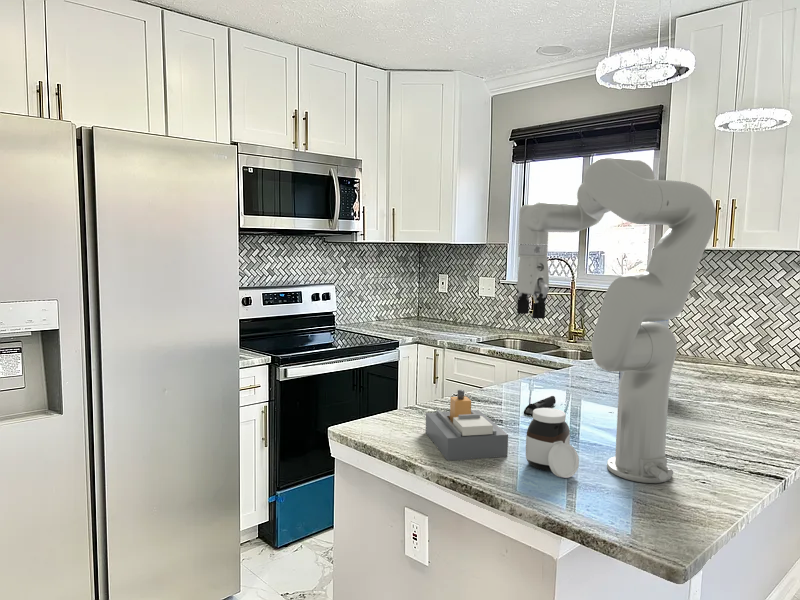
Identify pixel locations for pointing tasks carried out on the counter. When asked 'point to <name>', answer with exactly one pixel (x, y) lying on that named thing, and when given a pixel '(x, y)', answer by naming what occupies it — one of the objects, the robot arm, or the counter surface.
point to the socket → (464, 439)
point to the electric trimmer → (540, 405)
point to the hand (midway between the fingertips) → (530, 315)
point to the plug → (459, 405)
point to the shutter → (472, 425)
